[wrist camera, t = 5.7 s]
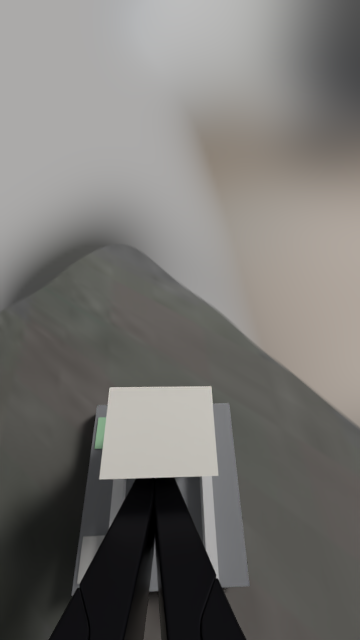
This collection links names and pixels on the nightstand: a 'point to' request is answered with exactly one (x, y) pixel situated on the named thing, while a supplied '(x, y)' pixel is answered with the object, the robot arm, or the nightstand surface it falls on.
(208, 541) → the breaker panel
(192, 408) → the handle
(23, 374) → the nightstand surface
